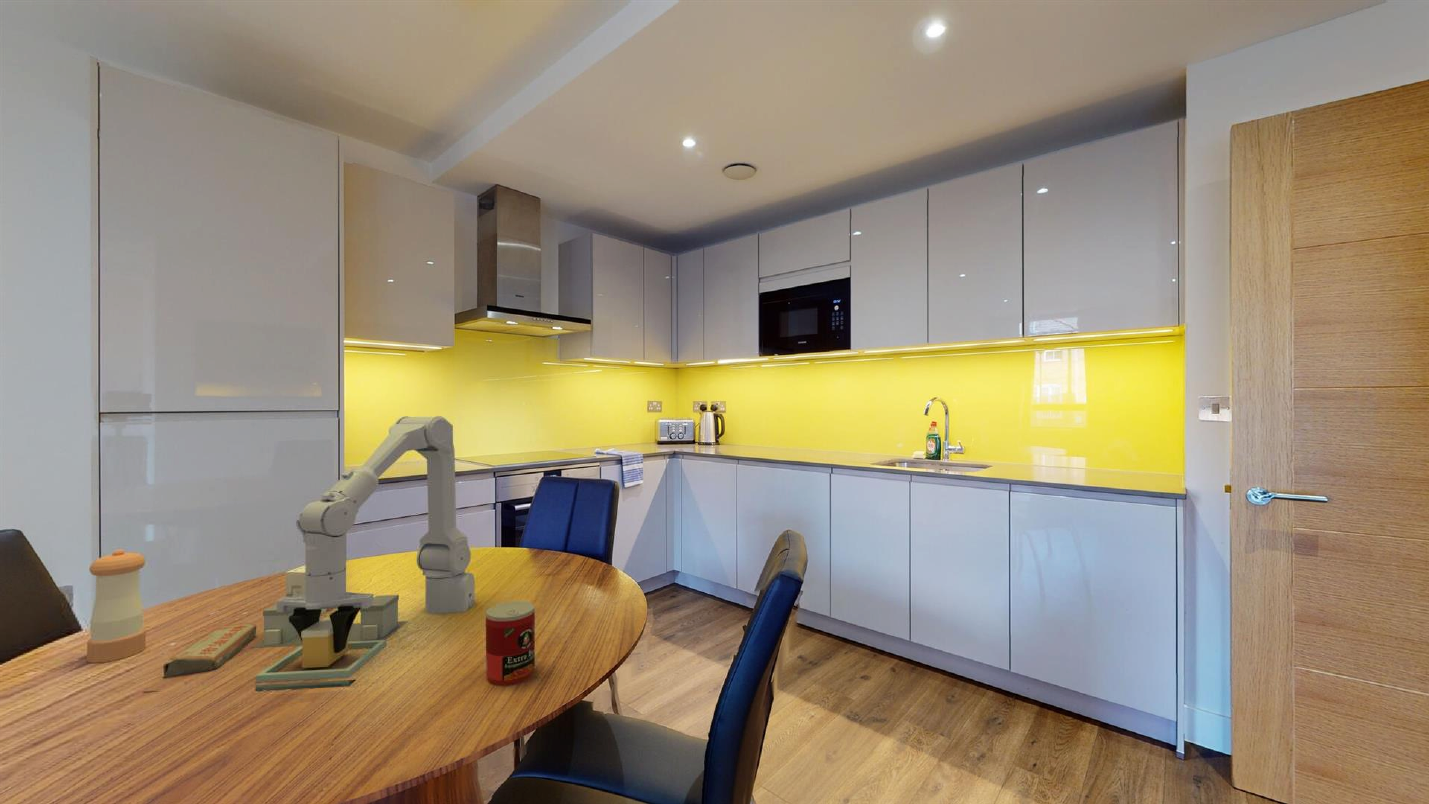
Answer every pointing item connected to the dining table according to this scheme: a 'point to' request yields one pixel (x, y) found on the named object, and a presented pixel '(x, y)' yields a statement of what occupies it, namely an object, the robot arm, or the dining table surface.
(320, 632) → the block
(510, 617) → the canned food
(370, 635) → the block
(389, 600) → the block
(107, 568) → the pepper shaker
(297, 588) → the ink cartridge box
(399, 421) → the robot arm
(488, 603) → the dining table surface
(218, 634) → the packaged product
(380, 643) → the parts tray
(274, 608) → the block
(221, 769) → the dining table surface
